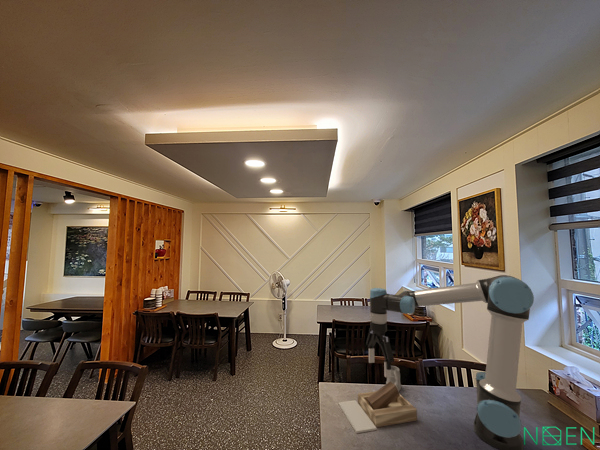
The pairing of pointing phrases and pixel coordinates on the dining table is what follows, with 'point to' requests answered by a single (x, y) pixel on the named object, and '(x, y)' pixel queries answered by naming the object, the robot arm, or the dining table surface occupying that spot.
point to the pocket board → (388, 411)
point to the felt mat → (357, 416)
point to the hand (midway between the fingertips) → (379, 369)
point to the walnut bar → (383, 396)
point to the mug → (395, 377)
